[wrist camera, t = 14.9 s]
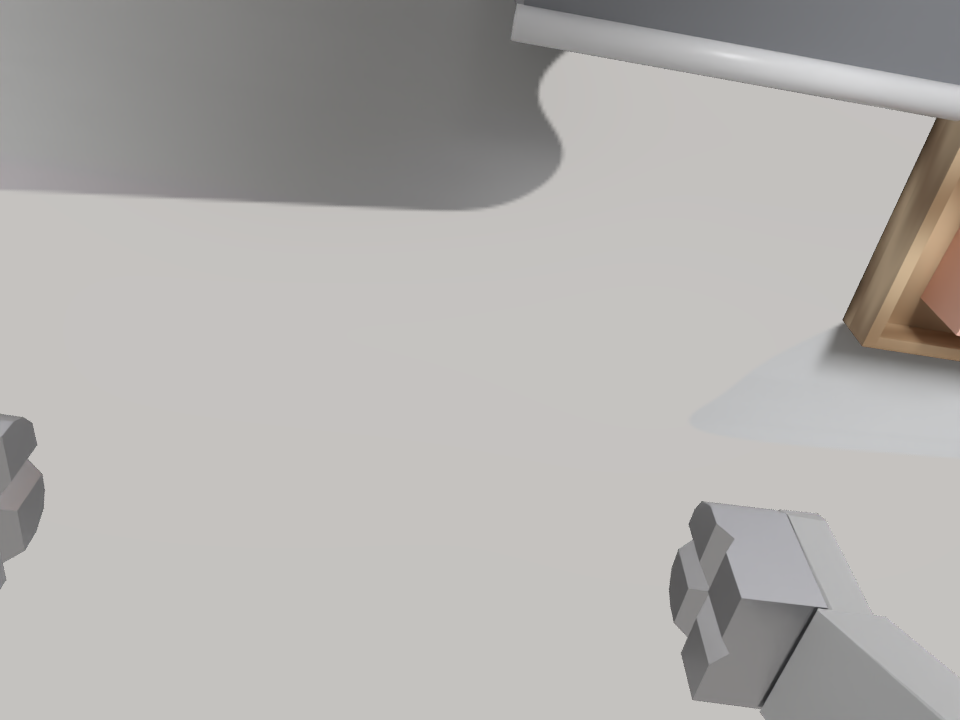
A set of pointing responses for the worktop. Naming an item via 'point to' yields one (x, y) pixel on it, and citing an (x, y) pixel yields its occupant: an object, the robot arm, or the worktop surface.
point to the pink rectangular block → (946, 287)
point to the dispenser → (773, 44)
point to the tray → (913, 256)
